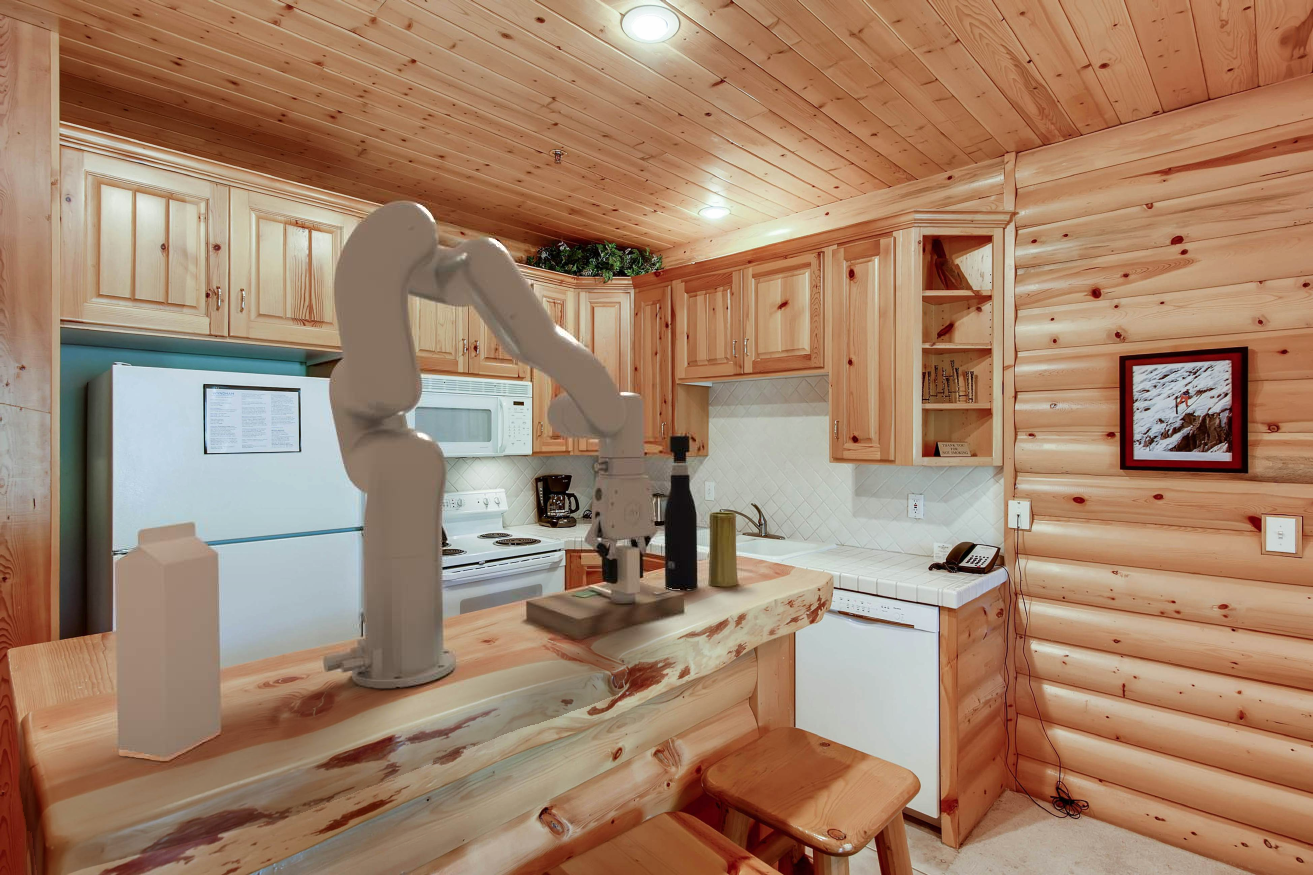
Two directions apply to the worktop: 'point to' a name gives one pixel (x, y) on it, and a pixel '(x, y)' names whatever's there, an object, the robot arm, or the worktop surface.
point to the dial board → (601, 610)
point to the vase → (723, 550)
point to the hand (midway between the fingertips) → (623, 578)
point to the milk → (167, 642)
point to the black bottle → (680, 523)
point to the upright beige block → (624, 576)
